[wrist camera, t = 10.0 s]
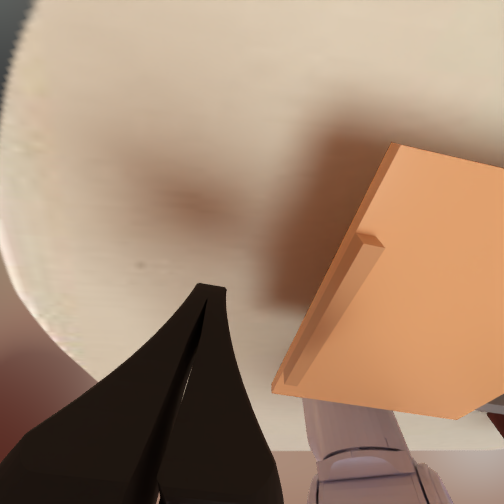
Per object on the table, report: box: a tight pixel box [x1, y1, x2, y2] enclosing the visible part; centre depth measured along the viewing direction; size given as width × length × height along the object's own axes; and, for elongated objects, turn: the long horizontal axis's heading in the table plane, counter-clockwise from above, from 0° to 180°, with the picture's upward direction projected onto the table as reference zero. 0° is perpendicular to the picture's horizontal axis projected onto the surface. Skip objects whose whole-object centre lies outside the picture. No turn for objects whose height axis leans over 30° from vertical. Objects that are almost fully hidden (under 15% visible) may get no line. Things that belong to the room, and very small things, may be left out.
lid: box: [271, 142, 504, 420], centre depth 11 cm, size 16×14×1 cm
